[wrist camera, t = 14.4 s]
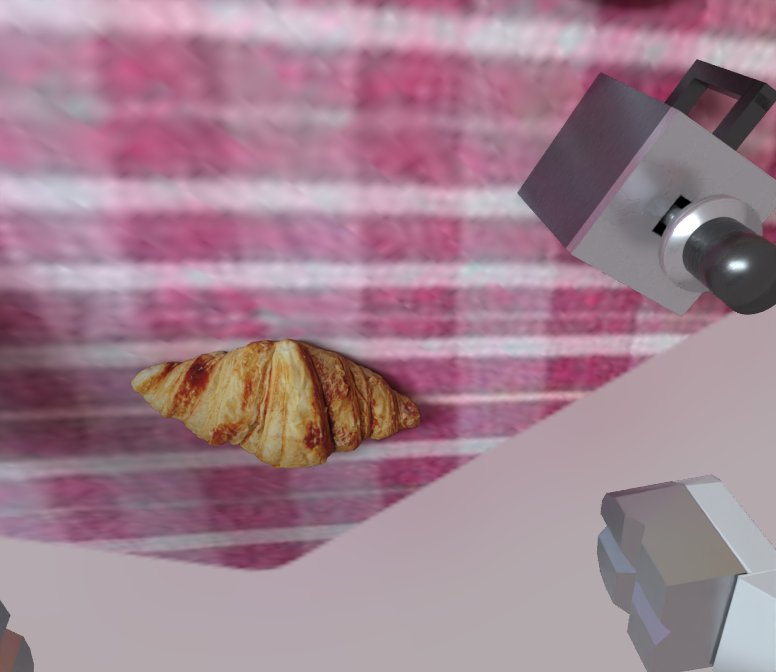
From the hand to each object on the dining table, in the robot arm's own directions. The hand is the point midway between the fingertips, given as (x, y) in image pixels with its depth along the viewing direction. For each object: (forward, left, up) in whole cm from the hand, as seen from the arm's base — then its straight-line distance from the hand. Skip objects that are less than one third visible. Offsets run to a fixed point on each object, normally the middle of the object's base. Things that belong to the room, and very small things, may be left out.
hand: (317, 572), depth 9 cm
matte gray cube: (+7, -22, -37) cm, 44 cm away
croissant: (-20, -10, -38) cm, 44 cm away
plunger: (+5, -22, -35) cm, 42 cm away
